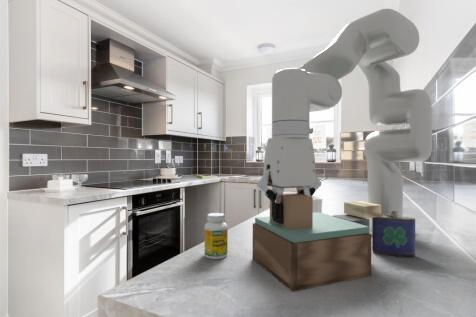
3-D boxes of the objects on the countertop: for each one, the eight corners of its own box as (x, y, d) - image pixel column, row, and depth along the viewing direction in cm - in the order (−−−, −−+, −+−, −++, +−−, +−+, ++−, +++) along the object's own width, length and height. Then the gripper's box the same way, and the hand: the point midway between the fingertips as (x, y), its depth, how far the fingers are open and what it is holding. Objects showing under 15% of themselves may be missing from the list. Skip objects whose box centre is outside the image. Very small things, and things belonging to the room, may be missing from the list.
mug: (300, 224, 93) (300, 194, 93) (325, 228, 88) (326, 197, 88) (286, 231, 85) (286, 198, 85) (313, 236, 79) (314, 201, 79)
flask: (413, 254, 65) (413, 209, 65) (417, 258, 62) (418, 211, 62) (371, 250, 67) (371, 207, 67) (373, 254, 64) (373, 209, 64)
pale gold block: (360, 211, 66) (360, 201, 66) (381, 216, 60) (381, 205, 60) (344, 213, 64) (344, 202, 64) (364, 218, 58) (364, 206, 58)
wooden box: (333, 247, 69) (334, 210, 69) (389, 271, 54) (389, 224, 54) (252, 259, 61) (252, 216, 61) (292, 291, 46) (292, 235, 46)
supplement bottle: (220, 250, 66) (220, 211, 66) (231, 257, 62) (232, 215, 62) (200, 254, 63) (200, 213, 63) (211, 261, 59) (211, 217, 59)
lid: (318, 216, 67) (318, 188, 67) (369, 232, 53) (369, 196, 53) (255, 222, 60) (255, 190, 60) (293, 243, 46) (294, 201, 46)
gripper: (313, 134, 62) (312, 214, 62) (244, 131, 55) (244, 220, 55) (336, 131, 55) (336, 221, 55) (261, 128, 48) (260, 229, 48)
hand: (290, 220), depth 55 cm, fingers closed on lid, 5 cm apart
